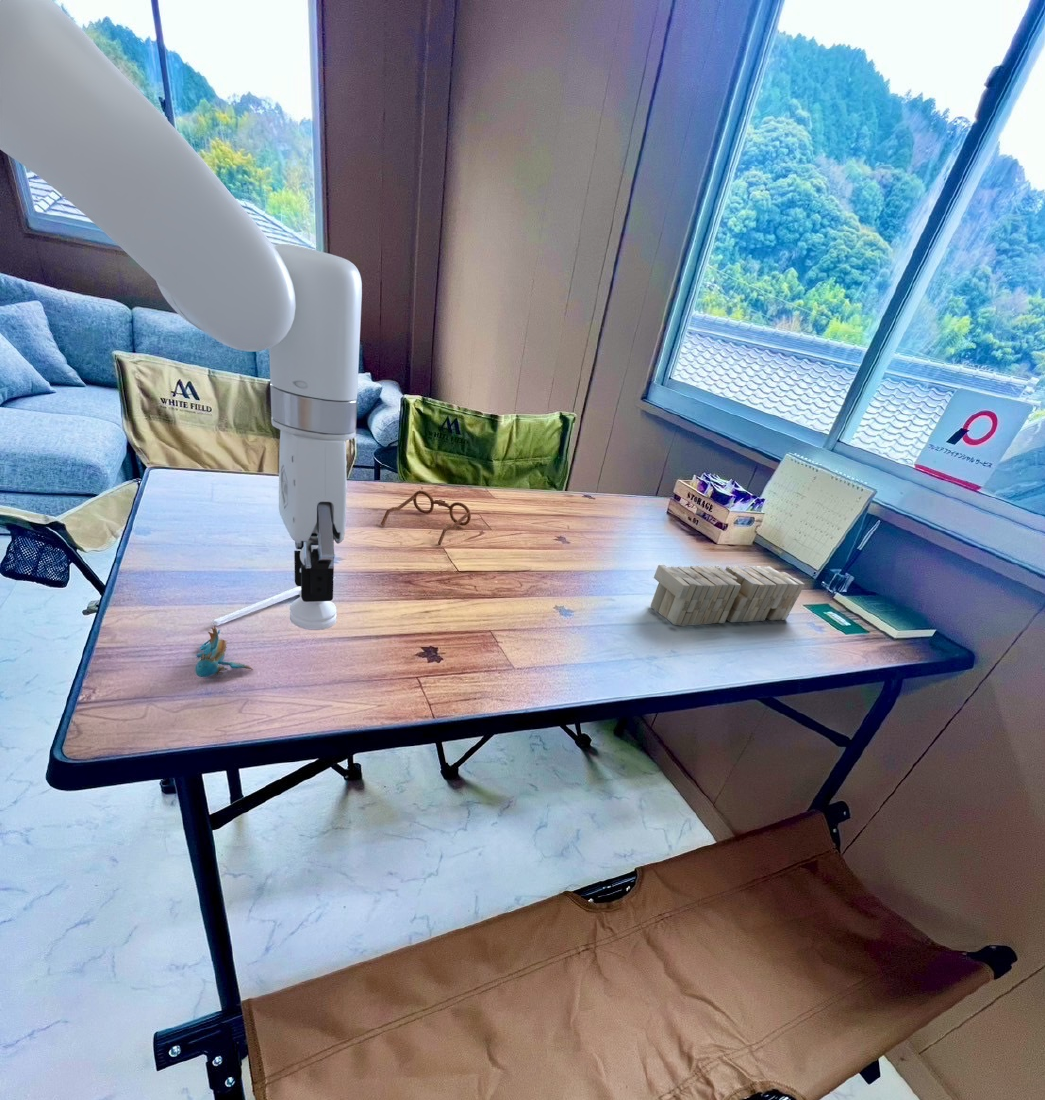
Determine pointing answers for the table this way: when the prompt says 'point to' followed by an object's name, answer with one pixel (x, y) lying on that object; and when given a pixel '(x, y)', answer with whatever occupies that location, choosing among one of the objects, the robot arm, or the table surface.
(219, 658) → the dragon figurine
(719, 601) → the block tower
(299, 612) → the chess pawn
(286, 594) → the fork
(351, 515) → the table surface
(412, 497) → the glasses
